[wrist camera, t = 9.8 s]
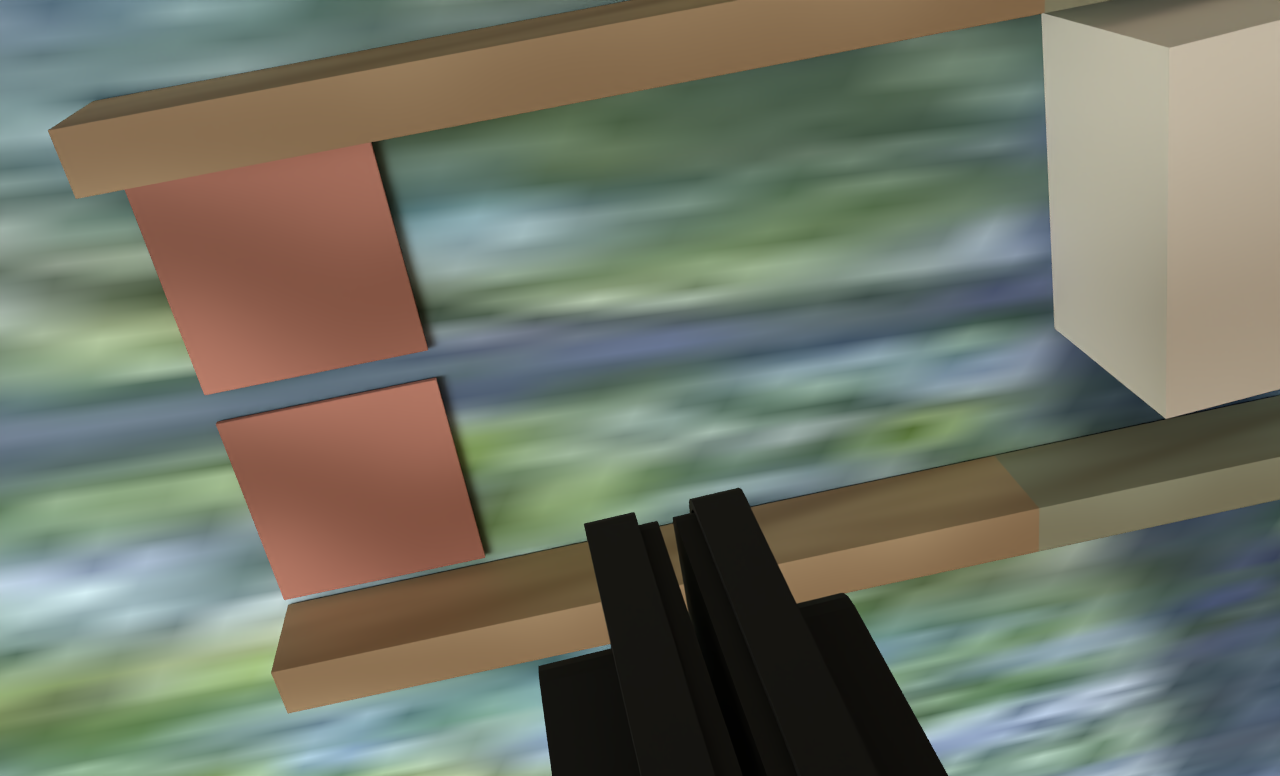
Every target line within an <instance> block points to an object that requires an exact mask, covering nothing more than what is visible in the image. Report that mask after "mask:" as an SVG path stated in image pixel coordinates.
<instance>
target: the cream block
mask: <svg viewBox="0 0 1280 776" xmlns="http://www.w3.org/2000/svg"><path fill="white" fill-rule="evenodd" d="M1042 38H1043V62H1044V86H1045V110H1046V134H1047V158H1048V182H1049V206H1050V230H1051V254H1052V278H1053V302H1054V326H1055V329H1056V330H1057V331H1058V332H1060V333H1061V334H1062V335H1063V336H1065V337H1066V338H1067V339H1068V340H1070V341H1071V342H1072V343H1073V344H1074V345H1076V346H1077V347H1078V348H1079V349H1081V350H1082V351H1083V352H1084V353H1085V354H1087V355H1088V356H1089V357H1090V358H1092V359H1093V360H1094V361H1095V362H1097V363H1098V364H1099V365H1100V366H1101V367H1103V368H1104V369H1105V370H1106V371H1108V372H1109V373H1110V374H1111V375H1113V376H1114V377H1115V378H1116V379H1117V380H1119V381H1120V382H1121V383H1122V384H1124V385H1125V386H1126V387H1127V388H1128V389H1130V390H1131V391H1132V392H1133V393H1135V394H1136V395H1137V396H1138V397H1140V398H1141V399H1142V400H1143V401H1144V402H1146V403H1147V404H1148V405H1149V406H1151V407H1152V408H1153V409H1154V410H1155V411H1157V412H1158V413H1159V414H1160V415H1162V416H1163V417H1164V418H1165V419H1168V418H1171V417H1175V416H1179V415H1183V414H1187V413H1190V412H1194V411H1198V410H1202V409H1206V408H1210V407H1213V406H1217V405H1221V404H1225V403H1229V402H1232V401H1236V400H1240V399H1244V398H1248V397H1252V396H1255V395H1259V394H1263V393H1267V392H1271V391H1275V390H1278V389H1280V0H1110V1H1105V2H1099V3H1094V4H1089V5H1084V6H1079V7H1073V8H1068V9H1063V10H1058V11H1053V12H1047V13H1042Z"/></svg>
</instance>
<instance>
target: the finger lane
mask: <svg viewBox="0 0 1280 776" xmlns="http://www.w3.org/2000/svg"><path fill="white" fill-rule="evenodd" d="M1105 1H1110V0H630V1H624V2H619V3H614V4H608V5H603V6H598V7H592V8H587V9H582V10H576V11H571V12H566V13H560V14H555V15H550V16H544V17H539V18H534V19H528V20H523V21H518V22H512V23H507V24H502V25H496V26H491V27H486V28H480V29H475V30H470V31H464V32H459V33H454V34H449V35H443V36H438V37H433V38H427V39H422V40H417V41H411V42H406V43H401V44H395V45H390V46H385V47H379V48H374V49H369V50H363V51H358V52H353V53H347V54H342V55H337V56H331V57H326V58H321V59H315V60H310V61H305V62H299V63H294V64H289V65H283V66H278V67H273V68H267V69H262V70H257V71H252V72H246V73H241V74H236V75H230V76H225V77H220V78H214V79H209V80H204V81H198V82H193V83H188V84H182V85H177V86H172V87H166V88H161V89H156V90H150V91H145V92H140V93H134V94H129V95H124V96H118V97H113V98H108V99H102V100H97V101H93V102H91V103H89V104H88V105H86V106H85V107H83V108H82V109H80V110H79V111H77V112H76V113H74V114H72V115H71V116H69V117H68V118H66V119H65V120H63V121H62V122H60V123H59V124H57V125H56V126H54V127H52V128H51V129H49V130H48V132H49V135H50V137H51V139H52V142H53V144H54V147H55V149H56V152H57V154H58V156H59V159H60V161H61V164H62V166H63V168H64V171H65V173H66V176H67V178H68V181H69V183H70V185H71V188H72V190H73V193H74V195H75V198H76V199H78V198H83V197H88V196H94V195H99V194H104V193H109V192H114V191H120V190H125V192H126V194H127V197H128V199H129V202H130V205H131V207H132V210H133V212H134V215H135V217H136V220H137V223H138V225H139V228H140V230H141V233H142V235H143V238H144V241H145V243H146V246H147V248H148V251H149V253H150V256H151V259H152V261H153V264H154V266H155V269H156V271H157V274H158V277H159V279H160V282H161V284H162V287H163V289H164V292H165V295H166V297H167V300H168V302H169V305H170V307H171V310H172V313H173V315H174V318H175V320H176V323H177V325H178V328H179V331H180V333H181V336H182V338H183V341H184V343H185V346H186V349H187V351H188V354H189V356H190V359H191V361H192V364H193V367H194V369H195V372H196V374H197V377H198V379H199V382H200V385H201V387H202V390H203V392H204V395H208V394H213V393H218V392H223V391H228V390H233V389H238V388H243V387H248V386H253V385H258V384H263V383H268V382H273V381H278V380H283V379H288V378H293V377H298V376H302V375H307V374H312V373H317V372H322V371H327V370H332V369H337V368H342V367H347V366H352V365H357V364H362V363H367V362H372V361H377V360H382V359H387V358H392V357H397V356H402V355H407V354H412V353H417V352H422V351H427V350H428V346H427V342H426V338H425V335H424V331H423V327H422V324H421V320H420V317H419V313H418V309H417V306H416V302H415V298H414V295H413V291H412V288H411V284H410V280H409V277H408V273H407V269H406V266H405V262H404V259H403V255H402V251H401V248H400V244H399V240H398V237H397V233H396V230H395V226H394V222H393V219H392V215H391V211H390V208H389V204H388V201H387V197H386V193H385V190H384V186H383V182H382V179H381V175H380V172H379V168H378V164H377V161H376V157H375V153H374V150H373V146H372V143H371V142H375V141H380V140H385V139H391V138H396V137H401V136H406V135H411V134H417V133H422V132H427V131H432V130H438V129H443V128H448V127H453V126H458V125H464V124H469V123H474V122H479V121H484V120H490V119H495V118H500V117H505V116H510V115H516V114H521V113H526V112H531V111H537V110H542V109H547V108H552V107H557V106H563V105H568V104H573V103H578V102H583V101H589V100H594V99H599V98H604V97H610V96H615V95H620V94H625V93H630V92H636V91H641V90H646V89H651V88H656V87H662V86H667V85H672V84H677V83H682V82H688V81H693V80H698V79H703V78H709V77H714V76H719V75H724V74H729V73H735V72H740V71H745V70H750V69H755V68H761V67H766V66H771V65H776V64H782V63H787V62H792V61H797V60H802V59H808V58H813V57H818V56H823V55H828V54H834V53H839V52H844V51H849V50H854V49H860V48H865V47H870V46H875V45H881V44H886V43H891V42H896V41H901V40H907V39H912V38H917V37H922V36H927V35H933V34H938V33H943V32H948V31H954V30H959V29H964V28H969V27H974V26H980V25H985V24H990V23H995V22H1000V21H1006V20H1011V19H1016V18H1021V17H1026V16H1032V15H1037V14H1042V13H1047V12H1053V11H1058V10H1063V9H1068V8H1073V7H1079V6H1084V5H1089V4H1094V3H1099V2H1105ZM216 426H217V428H218V431H219V433H220V436H221V439H222V441H223V444H224V446H225V449H226V451H227V454H228V457H229V459H230V462H231V464H232V467H233V469H234V472H235V475H236V477H237V480H238V482H239V485H240V487H241V490H242V493H243V495H244V498H245V500H246V503H247V505H248V508H249V511H250V513H251V516H252V518H253V521H254V523H255V526H256V529H257V531H258V534H259V536H260V539H261V541H262V544H263V546H264V549H265V552H266V554H267V557H268V559H269V562H270V564H271V567H272V570H273V572H274V575H275V577H276V580H277V582H278V585H279V588H280V590H281V593H282V595H283V598H284V600H287V599H291V598H296V597H301V596H306V595H310V594H315V593H320V592H325V591H329V590H334V589H339V588H344V587H348V586H353V585H358V584H363V583H367V582H372V581H377V580H382V579H386V578H391V577H396V576H400V575H405V574H410V573H415V572H419V571H424V570H429V569H434V568H438V567H443V566H448V565H453V564H457V563H462V562H467V561H472V560H476V559H481V558H485V552H484V549H483V545H482V541H481V538H480V534H479V530H478V527H477V523H476V520H475V516H474V512H473V509H472V505H471V501H470V498H469V494H468V491H467V487H466V483H465V480H464V476H463V472H462V469H461V465H460V462H459V458H458V454H457V451H456V447H455V443H454V440H453V436H452V433H451V429H450V425H449V422H448V418H447V414H446V411H445V407H444V404H443V400H442V396H441V393H440V389H439V385H438V382H437V378H431V379H426V380H421V381H416V382H411V383H406V384H401V385H396V386H391V387H387V388H382V389H377V390H372V391H367V392H362V393H357V394H352V395H347V396H342V397H337V398H332V399H327V400H322V401H317V402H312V403H308V404H303V405H298V406H293V407H288V408H283V409H278V410H273V411H268V412H263V413H258V414H253V415H248V416H243V417H238V418H234V419H229V420H224V421H219V422H217V423H216ZM1279 499H1280V396H1275V397H1270V398H1265V399H1261V400H1256V401H1251V402H1247V403H1242V404H1237V405H1232V406H1228V407H1223V408H1218V409H1213V410H1209V411H1204V412H1199V413H1194V414H1190V415H1185V416H1180V417H1176V418H1171V419H1166V420H1161V421H1157V422H1152V423H1147V424H1142V425H1138V426H1133V427H1128V428H1123V429H1119V430H1114V431H1109V432H1104V433H1100V434H1095V435H1090V436H1086V437H1081V438H1076V439H1071V440H1067V441H1062V442H1057V443H1052V444H1048V445H1043V446H1038V447H1033V448H1029V449H1024V450H1019V451H1015V452H1010V453H1005V454H1000V455H996V456H991V457H986V458H981V459H977V460H972V461H967V462H962V463H958V464H953V465H948V466H943V467H939V468H934V469H929V470H925V471H920V472H915V473H910V474H906V475H901V476H896V477H891V478H887V479H882V480H877V481H872V482H868V483H863V484H858V485H854V486H849V487H844V488H839V489H835V490H830V491H825V492H820V493H816V494H811V495H806V496H801V497H797V498H792V499H787V500H782V501H778V502H773V503H768V504H764V505H759V506H754V507H751V509H752V511H753V513H754V515H755V518H756V520H757V522H758V524H759V526H760V528H761V530H762V532H763V534H764V536H765V538H766V541H767V543H768V545H769V547H770V549H771V551H772V553H773V555H774V557H775V559H776V561H777V564H778V566H779V568H780V570H781V572H782V574H783V576H784V578H785V580H786V582H787V584H788V587H789V589H790V591H791V593H792V595H793V597H794V599H795V601H796V603H801V602H805V601H809V600H813V599H818V598H822V597H826V596H830V595H834V594H838V593H842V592H843V593H848V592H853V591H857V590H862V589H867V588H871V587H876V586H881V585H885V584H890V583H895V582H899V581H904V580H908V579H913V578H918V577H922V576H927V575H932V574H936V573H941V572H945V571H950V570H955V569H959V568H964V567H969V566H973V565H978V564H983V563H987V562H992V561H996V560H1001V559H1006V558H1010V557H1015V556H1020V555H1024V554H1029V553H1034V552H1038V551H1043V550H1047V549H1052V548H1057V547H1061V546H1066V545H1071V544H1075V543H1080V542H1084V541H1089V540H1094V539H1098V538H1103V537H1108V536H1112V535H1117V534H1122V533H1126V532H1131V531H1135V530H1140V529H1145V528H1149V527H1154V526H1159V525H1163V524H1168V523H1172V522H1177V521H1182V520H1186V519H1191V518H1196V517H1200V516H1205V515H1210V514H1214V513H1219V512H1223V511H1228V510H1233V509H1237V508H1242V507H1247V506H1251V505H1256V504H1260V503H1265V502H1270V501H1274V500H1279ZM659 527H660V529H661V532H662V535H663V538H664V541H665V544H666V547H667V550H668V553H669V556H670V559H671V562H672V565H673V568H674V571H675V574H676V577H677V580H678V583H679V586H680V589H681V592H682V595H683V598H684V601H685V604H686V607H687V601H686V595H685V590H684V584H683V578H682V572H681V567H680V561H679V555H678V549H677V543H676V538H675V532H674V526H673V524H669V525H664V526H659ZM687 610H688V607H687ZM607 644H610V640H609V635H608V631H607V626H606V622H605V617H604V613H603V608H602V604H601V599H600V594H599V590H598V585H597V581H596V576H595V572H594V567H593V563H592V558H591V554H590V549H589V545H588V542H584V543H579V544H574V545H569V546H565V547H560V548H555V549H550V550H546V551H541V552H536V553H532V554H527V555H522V556H517V557H513V558H508V559H503V560H498V561H494V562H489V563H484V564H479V565H475V566H470V567H465V568H460V569H456V570H451V571H446V572H442V573H437V574H432V575H427V576H423V577H418V578H413V579H408V580H404V581H399V582H394V583H389V584H385V585H380V586H375V587H371V588H366V589H361V590H356V591H352V592H347V593H342V594H337V595H333V596H328V597H323V598H318V599H314V600H309V601H304V602H299V603H295V604H290V605H288V608H287V612H286V616H285V620H284V624H283V628H282V632H281V635H280V639H279V643H278V647H277V651H276V655H275V659H274V663H273V667H272V671H271V674H272V676H273V678H274V681H275V683H276V686H277V688H278V691H279V693H280V695H281V698H282V700H283V703H284V705H285V708H286V710H287V712H288V713H292V712H297V711H302V710H306V709H311V708H316V707H320V706H325V705H329V704H334V703H339V702H343V701H348V700H353V699H357V698H362V697H366V696H371V695H376V694H380V693H385V692H390V691H394V690H399V689H404V688H408V687H413V686H417V685H422V684H427V683H431V682H436V681H441V680H445V679H450V678H454V677H459V676H464V675H468V674H473V673H478V672H482V671H487V670H492V669H496V668H501V667H505V666H510V665H515V664H519V663H524V662H529V661H533V660H538V659H542V658H547V657H552V656H556V655H561V654H566V653H570V652H575V651H580V650H584V649H589V648H593V647H598V646H603V645H607Z"/></svg>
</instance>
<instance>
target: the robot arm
mask: <svg viewBox="0 0 1280 776" xmlns="http://www.w3.org/2000/svg"><path fill="white" fill-rule="evenodd" d="M689 509H690V513H689V514H685V515H681V516H676V517H673V526H674V532H675V538H676V543H677V549H678V555H679V561H680V567H681V572H682V578H683V584H684V590H685V595H686V601H687V607H688V610H687V607H686V604H685V601H684V598H683V595H682V592H681V589H680V586H679V583H678V580H677V577H676V574H675V571H674V568H673V565H672V562H671V559H670V556H669V553H668V550H667V547H666V544H665V541H664V538H663V535H662V532H661V529H660V527H659V524H658V522H657V521H655V522H651V523H646V524H642V525H638V522H637V519H636V516H635V513H634V512H632V513H628V514H624V515H619V516H615V517H611V518H607V519H602V520H598V521H594V522H589V523H585V524H584V527H585V531H586V536H587V540H588V545H589V549H590V554H591V558H592V563H593V567H594V572H595V576H596V581H597V585H598V590H599V594H600V599H601V604H602V608H603V613H604V617H605V622H606V626H607V631H608V635H609V640H610V644H611V649H607V650H603V651H599V652H595V653H591V654H586V655H582V656H578V657H574V658H570V659H566V660H562V661H558V662H553V663H549V664H545V665H541V666H539V680H540V688H541V696H542V703H543V711H544V718H545V726H546V733H547V741H548V748H549V756H550V763H551V771H552V776H948V775H947V773H946V771H945V769H944V767H943V765H942V764H941V762H940V760H939V758H938V756H937V755H936V753H935V751H934V749H933V747H932V745H931V744H930V742H929V740H928V738H927V736H926V735H925V733H924V731H923V729H922V727H921V726H920V724H919V722H918V720H917V718H916V716H915V715H914V713H913V711H912V709H911V707H910V706H909V704H908V702H907V700H906V698H905V696H904V695H903V693H902V691H901V689H900V687H899V686H898V684H897V682H896V680H895V678H894V677H893V675H892V673H891V671H890V669H889V667H888V666H887V664H886V662H885V660H884V658H883V657H882V655H881V653H880V651H879V649H878V648H877V646H876V644H875V642H874V640H873V638H872V637H871V635H870V633H869V631H868V629H867V628H866V626H865V624H864V622H863V620H862V618H861V617H860V615H859V613H858V611H857V609H856V608H855V606H854V604H853V603H852V601H851V600H850V598H849V597H848V596H847V595H846V594H844V593H843V592H842V593H838V594H834V595H830V596H826V597H822V598H818V599H813V600H809V601H805V602H801V603H796V601H795V599H794V597H793V595H792V593H791V591H790V589H789V587H788V584H787V582H786V580H785V578H784V576H783V574H782V572H781V570H780V568H779V566H778V564H777V561H776V559H775V557H774V555H773V553H772V551H771V549H770V547H769V545H768V543H767V541H766V538H765V536H764V534H763V532H762V530H761V528H760V526H759V524H758V522H757V520H756V518H755V515H754V513H753V511H752V509H751V507H750V505H749V503H748V501H747V499H746V497H745V495H744V493H743V491H742V489H740V488H736V489H731V490H727V491H723V492H718V493H714V494H710V495H705V496H701V497H697V498H693V499H690V500H689Z"/></svg>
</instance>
